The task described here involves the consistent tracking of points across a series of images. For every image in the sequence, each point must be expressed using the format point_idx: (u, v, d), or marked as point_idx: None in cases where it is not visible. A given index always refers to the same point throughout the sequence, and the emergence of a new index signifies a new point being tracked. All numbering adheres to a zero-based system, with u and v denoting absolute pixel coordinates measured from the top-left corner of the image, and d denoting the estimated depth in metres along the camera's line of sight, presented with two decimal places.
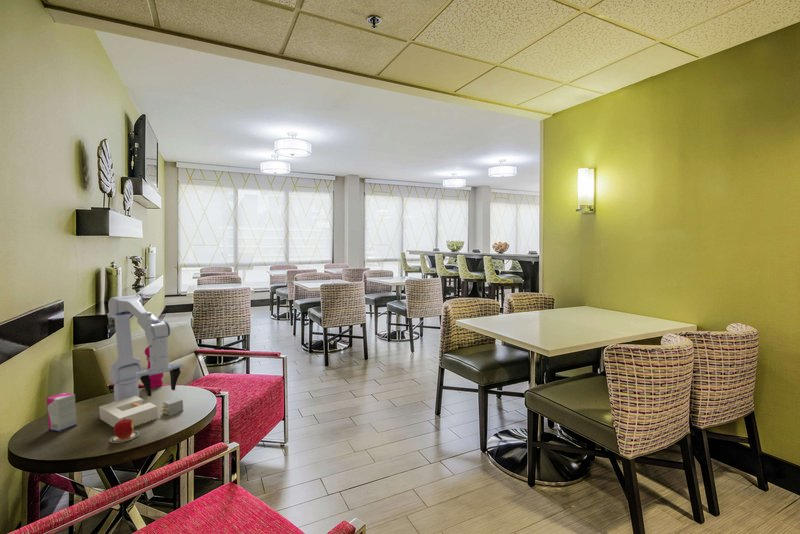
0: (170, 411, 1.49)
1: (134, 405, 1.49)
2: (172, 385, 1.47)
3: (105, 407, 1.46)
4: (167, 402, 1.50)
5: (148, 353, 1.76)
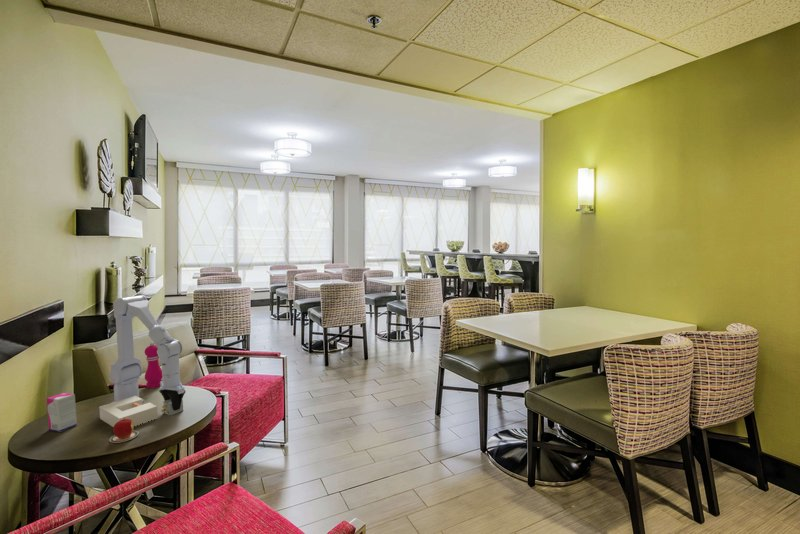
0: (170, 411, 1.49)
1: (134, 405, 1.49)
2: None
3: (105, 407, 1.46)
4: (167, 402, 1.50)
5: (148, 353, 1.76)
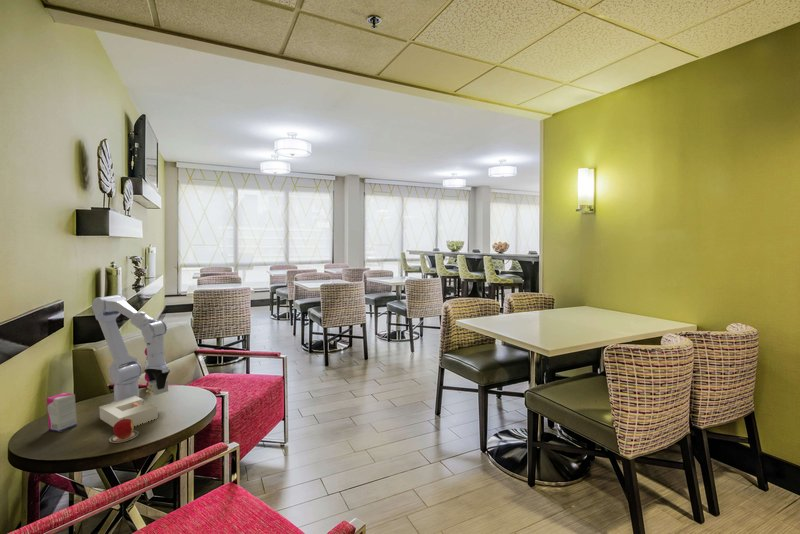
0: (155, 391, 1.52)
1: (134, 405, 1.49)
2: None
3: (105, 407, 1.46)
4: (152, 382, 1.53)
5: None
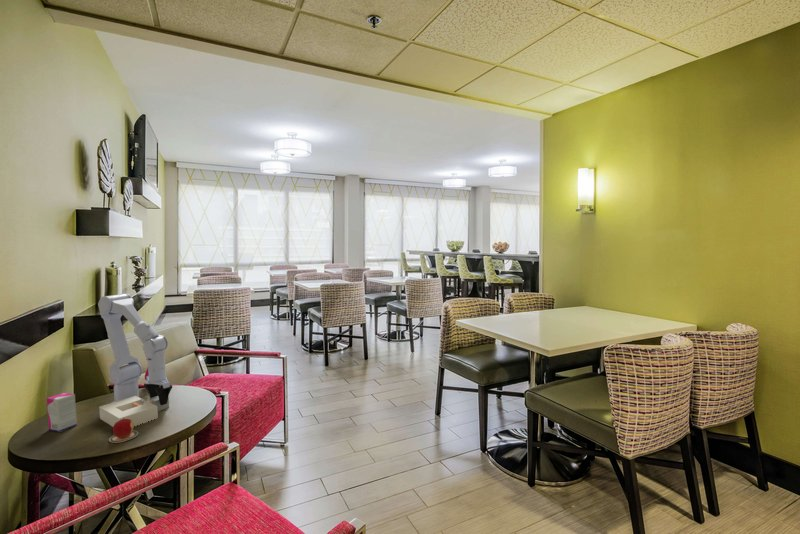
0: None
1: (134, 405, 1.49)
2: None
3: (105, 407, 1.46)
4: (153, 399, 1.54)
5: None
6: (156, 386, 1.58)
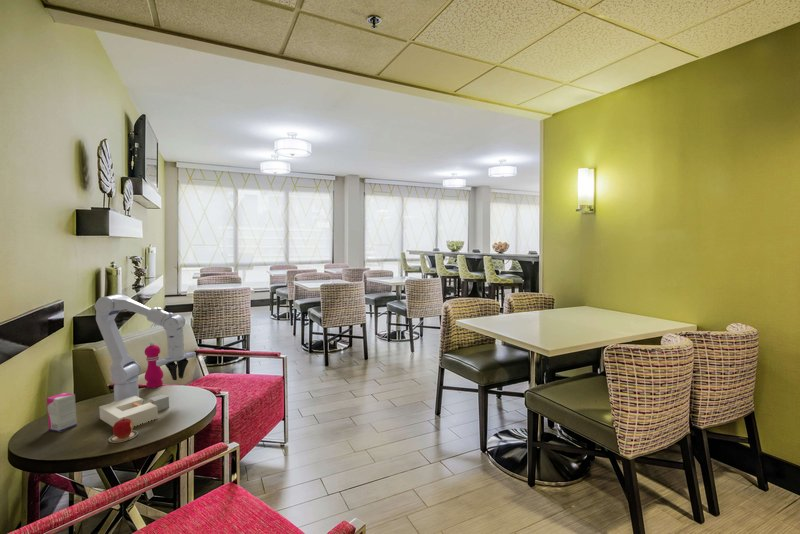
0: None
1: (134, 405, 1.49)
2: (180, 374, 1.61)
3: (105, 407, 1.46)
4: (153, 399, 1.54)
5: (148, 353, 1.76)
6: None
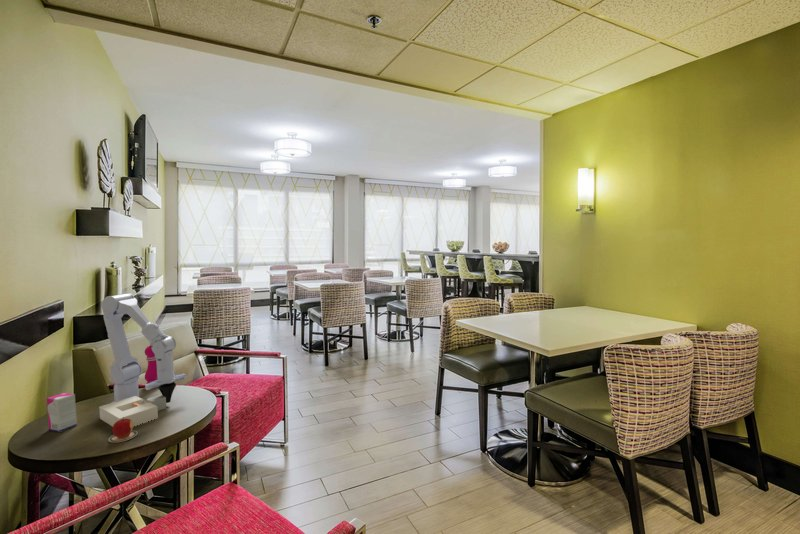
0: None
1: (134, 405, 1.49)
2: None
3: (105, 407, 1.46)
4: (150, 399, 1.53)
5: (148, 353, 1.76)
6: None
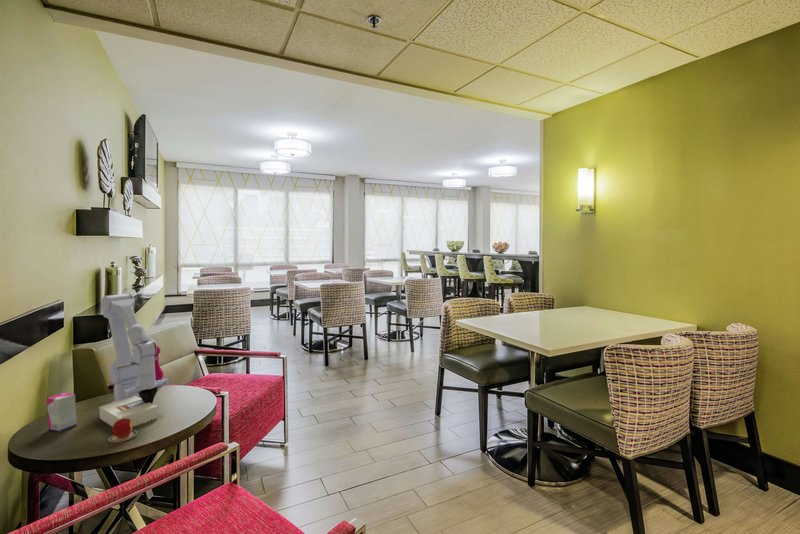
0: None
1: (120, 409, 1.46)
2: None
3: (105, 407, 1.46)
4: (130, 406, 1.47)
5: None
6: None
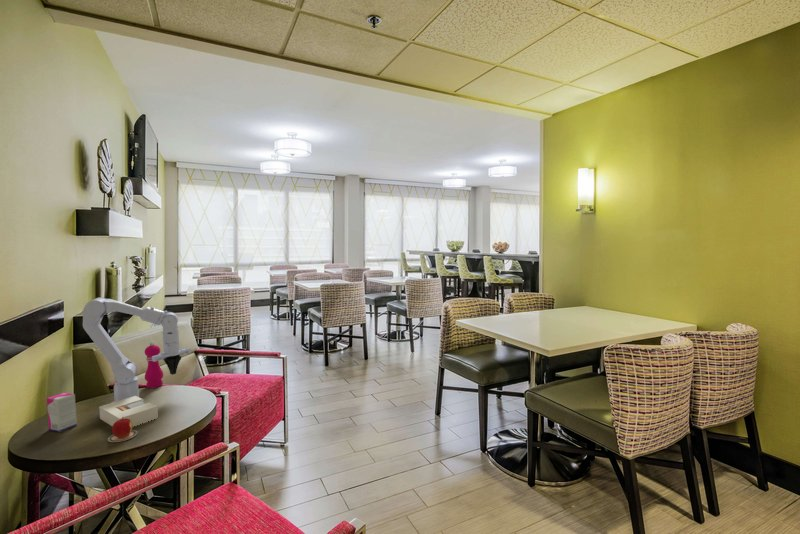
0: None
1: (120, 409, 1.45)
2: None
3: (105, 407, 1.46)
4: (130, 406, 1.47)
5: (148, 353, 1.76)
6: None
